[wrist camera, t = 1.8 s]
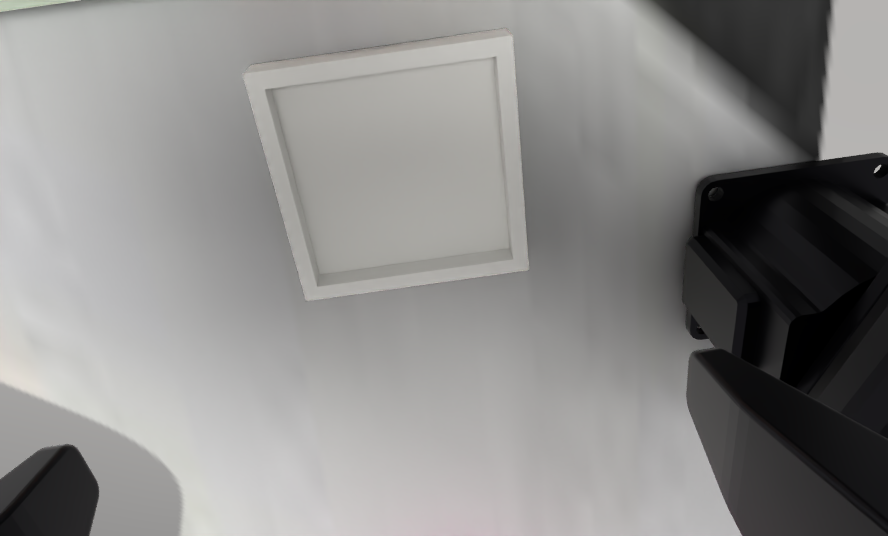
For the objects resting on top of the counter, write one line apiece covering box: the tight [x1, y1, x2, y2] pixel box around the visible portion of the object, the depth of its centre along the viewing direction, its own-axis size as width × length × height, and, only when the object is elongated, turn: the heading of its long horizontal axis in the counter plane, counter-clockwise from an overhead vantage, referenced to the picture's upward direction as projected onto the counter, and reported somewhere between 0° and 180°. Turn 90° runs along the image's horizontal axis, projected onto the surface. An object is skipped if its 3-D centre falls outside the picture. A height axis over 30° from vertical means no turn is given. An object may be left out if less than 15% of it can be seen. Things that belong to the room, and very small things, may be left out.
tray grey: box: [242, 28, 529, 301], centre depth 20 cm, size 8×8×1 cm
